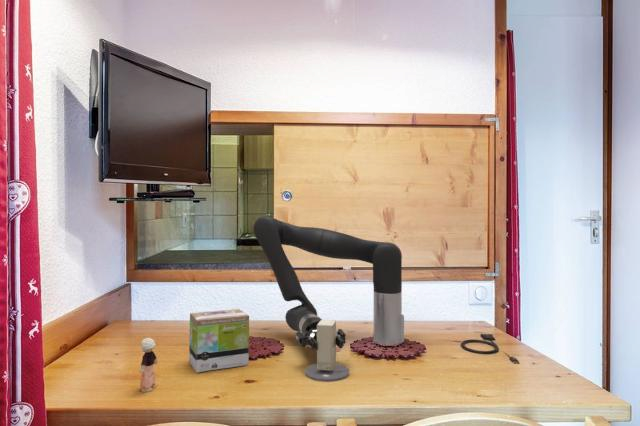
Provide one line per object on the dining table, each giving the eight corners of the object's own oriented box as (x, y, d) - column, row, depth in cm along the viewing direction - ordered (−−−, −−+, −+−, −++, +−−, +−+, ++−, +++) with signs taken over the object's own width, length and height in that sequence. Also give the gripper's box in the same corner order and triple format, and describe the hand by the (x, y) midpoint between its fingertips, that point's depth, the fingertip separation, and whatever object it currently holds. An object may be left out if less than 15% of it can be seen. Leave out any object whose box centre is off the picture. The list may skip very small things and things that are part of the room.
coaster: (341, 363, 133) (341, 361, 133) (355, 378, 121) (355, 375, 121) (300, 367, 130) (300, 364, 129) (311, 383, 118) (311, 380, 118)
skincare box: (332, 371, 122) (332, 325, 122) (316, 370, 123) (316, 324, 122) (336, 363, 128) (336, 320, 128) (320, 362, 129) (321, 319, 129)
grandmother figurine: (144, 383, 118) (144, 334, 118) (159, 383, 118) (159, 334, 118) (135, 395, 110) (134, 343, 110) (151, 395, 110) (151, 342, 110)
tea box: (196, 374, 124) (196, 320, 124) (188, 363, 133) (188, 312, 133) (249, 365, 131) (249, 314, 131) (239, 355, 140) (238, 307, 140)
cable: (472, 364, 134) (472, 359, 134) (452, 337, 162) (452, 332, 162) (520, 365, 133) (520, 360, 133) (491, 337, 161) (492, 333, 161)
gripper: (290, 318, 137) (302, 333, 121) (336, 315, 141) (354, 329, 125) (290, 343, 137) (302, 361, 121) (336, 339, 141) (354, 357, 125)
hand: (329, 345), depth 123 cm, fingers closed on skincare box, 6 cm apart
